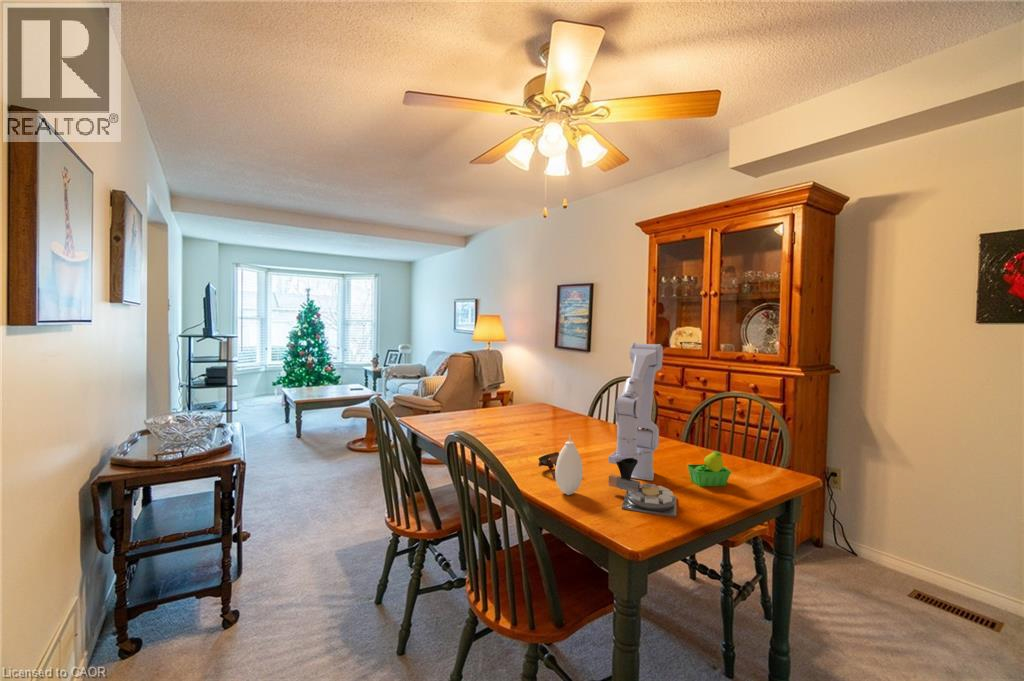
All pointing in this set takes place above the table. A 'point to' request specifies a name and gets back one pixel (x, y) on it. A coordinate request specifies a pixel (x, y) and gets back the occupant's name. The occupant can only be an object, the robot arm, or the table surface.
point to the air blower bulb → (568, 469)
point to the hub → (658, 509)
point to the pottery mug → (549, 461)
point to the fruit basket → (710, 471)
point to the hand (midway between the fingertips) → (625, 482)
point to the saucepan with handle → (636, 488)
